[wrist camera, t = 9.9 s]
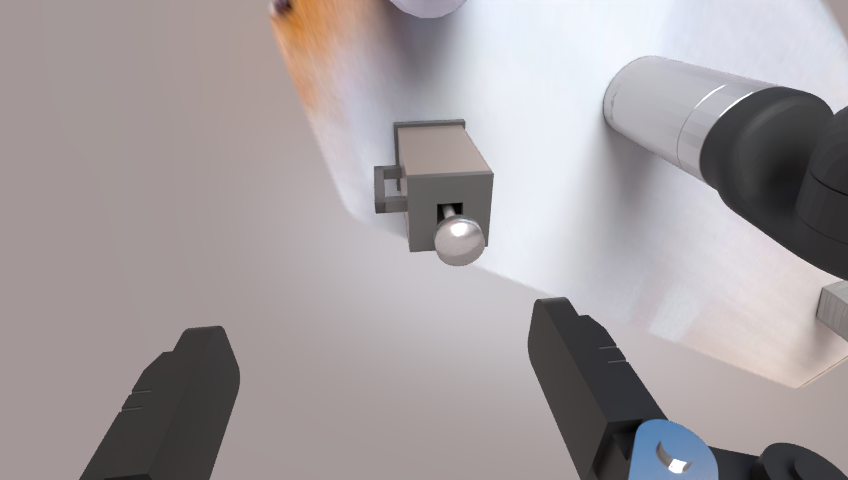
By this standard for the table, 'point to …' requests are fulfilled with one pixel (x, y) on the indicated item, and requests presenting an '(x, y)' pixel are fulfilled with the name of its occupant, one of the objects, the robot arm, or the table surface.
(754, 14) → the table surface
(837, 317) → the skincare box
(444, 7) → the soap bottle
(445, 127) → the gray handled box
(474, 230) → the plunger
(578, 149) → the table surface
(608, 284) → the table surface
